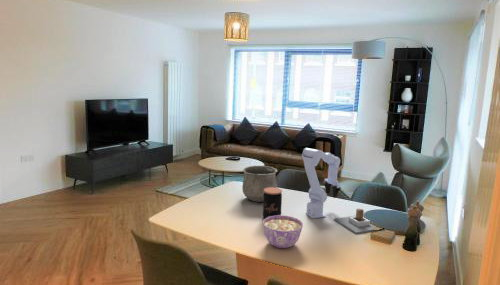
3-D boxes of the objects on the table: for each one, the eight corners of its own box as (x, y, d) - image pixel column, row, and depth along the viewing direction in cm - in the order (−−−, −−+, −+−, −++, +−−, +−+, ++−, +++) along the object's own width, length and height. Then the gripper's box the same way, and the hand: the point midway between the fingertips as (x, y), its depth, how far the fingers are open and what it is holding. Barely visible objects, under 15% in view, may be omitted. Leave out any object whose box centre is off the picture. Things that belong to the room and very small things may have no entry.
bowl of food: (279, 258, 168) (280, 234, 166) (254, 241, 184) (254, 220, 182) (310, 247, 180) (311, 225, 178) (283, 232, 196) (284, 212, 193)
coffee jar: (259, 220, 211) (260, 191, 208) (267, 214, 220) (268, 186, 217) (276, 224, 206) (277, 194, 203) (283, 218, 216) (284, 189, 212)
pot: (235, 196, 251) (236, 166, 247) (264, 192, 262) (265, 163, 258) (252, 208, 229) (253, 176, 225) (283, 203, 240) (285, 172, 236)
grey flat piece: (355, 234, 196) (356, 228, 196) (334, 220, 215) (334, 214, 214) (384, 229, 204) (385, 223, 203) (361, 216, 222) (362, 210, 221)
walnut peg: (358, 224, 206) (359, 211, 205) (353, 222, 210) (354, 209, 208) (364, 223, 208) (365, 210, 206) (359, 221, 211) (360, 208, 210)
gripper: (345, 177, 223) (343, 198, 225) (331, 171, 236) (330, 191, 238) (335, 178, 220) (333, 199, 223) (322, 172, 233) (320, 192, 236)
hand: (331, 195), depth 230 cm, fingers open, 7 cm apart
